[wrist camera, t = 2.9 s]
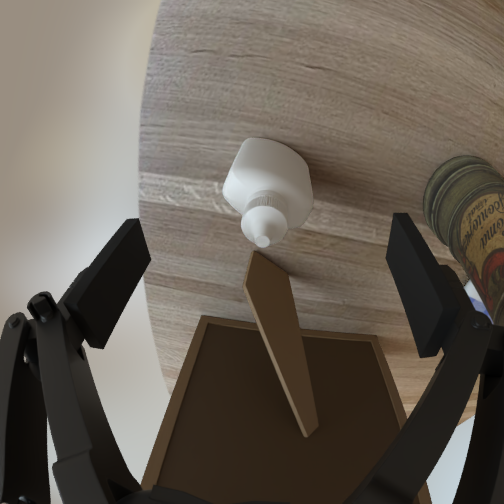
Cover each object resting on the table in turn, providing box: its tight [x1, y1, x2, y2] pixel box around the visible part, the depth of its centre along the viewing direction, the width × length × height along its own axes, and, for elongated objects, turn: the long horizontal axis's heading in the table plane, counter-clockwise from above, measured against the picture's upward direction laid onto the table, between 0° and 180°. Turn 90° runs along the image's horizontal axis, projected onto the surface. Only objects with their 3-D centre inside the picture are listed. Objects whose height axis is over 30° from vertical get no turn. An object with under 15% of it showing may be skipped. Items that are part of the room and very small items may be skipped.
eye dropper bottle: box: [223, 138, 314, 248], centre depth 19 cm, size 4×6×12 cm
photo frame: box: [140, 251, 432, 504], centre depth 24 cm, size 15×22×25 cm
